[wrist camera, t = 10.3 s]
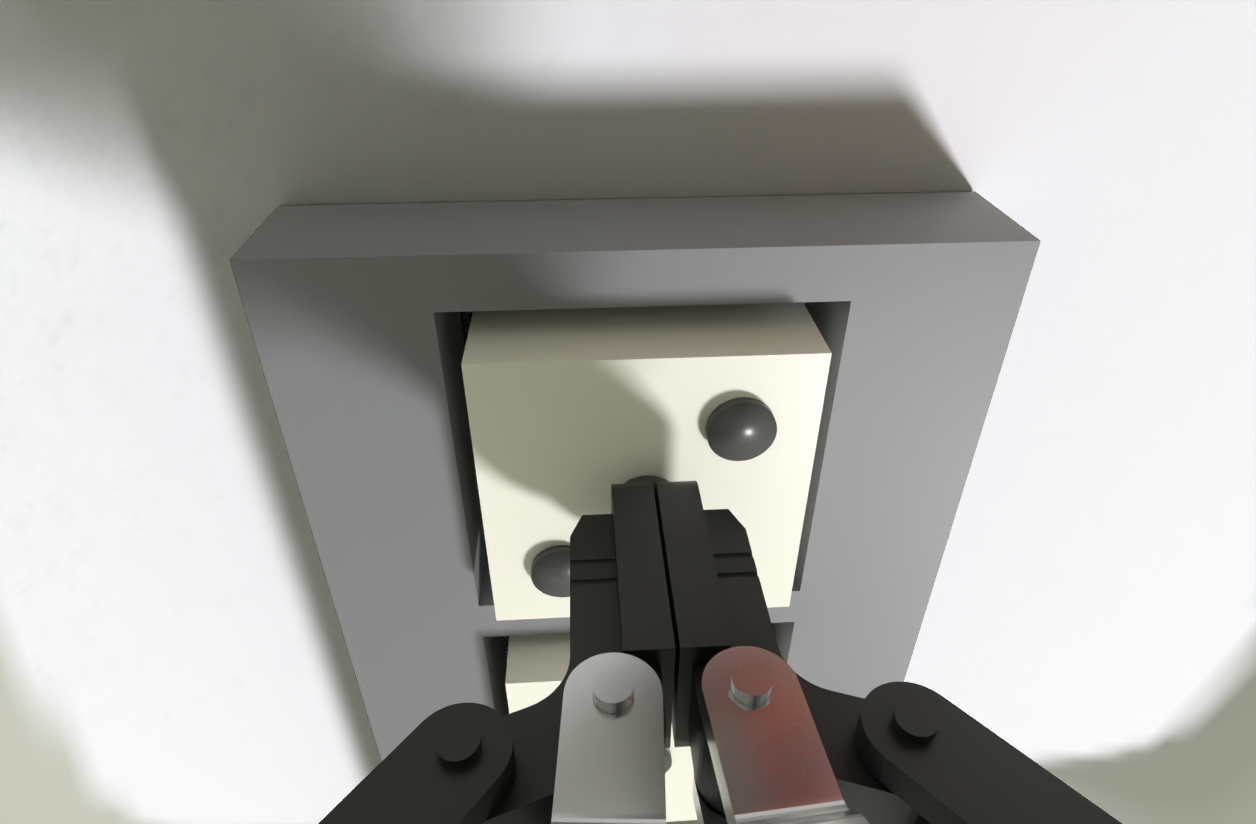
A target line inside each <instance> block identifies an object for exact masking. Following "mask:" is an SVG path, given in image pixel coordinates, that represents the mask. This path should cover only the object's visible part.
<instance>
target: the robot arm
mask: <svg viewBox="0 0 1256 824" xmlns="http://www.w3.org/2000/svg"><path fill="white" fill-rule="evenodd" d="M671 724H672V730H673V739H674V747H687V746H690V748H691V755H692V762H693V769H694V778H693V792H692V793H693V801H694V806H695V810H696V815H697V820H698V824H1122V823H1120V822H1119V821H1118V820H1116V819H1115V818H1113V817H1112V816H1110V815H1109V814H1108V813H1106V812H1105V811H1103V810H1102V809H1101V808H1099V807H1098V806H1096V805H1095V804H1093V803H1092V802H1091V801H1089V800H1088V799H1086V798H1085V797H1083V796H1082V795H1081V794H1079V793H1078V792H1076V791H1075V790H1074V789H1072V788H1071V787H1070V786H1068V785H1067V784H1065V783H1064V782H1062V781H1061V780H1060V779H1058V778H1057V777H1055V776H1054V775H1053V774H1051V773H1050V772H1048V771H1047V770H1045V769H1044V768H1043V767H1041V766H1040V765H1038V764H1037V763H1036V762H1034V761H1033V760H1031V759H1030V758H1029V757H1027V756H1026V755H1024V754H1023V753H1021V752H1020V751H1019V750H1017V749H1016V748H1014V747H1013V746H1012V745H1010V744H1009V743H1007V742H1006V741H1005V740H1003V739H1002V738H1000V737H999V736H997V735H996V734H995V733H993V732H992V731H990V730H989V729H988V728H986V727H985V726H983V725H982V724H980V723H979V722H978V721H976V720H975V719H973V718H972V717H971V716H969V715H968V714H966V713H965V712H964V711H962V710H961V709H959V708H958V707H956V706H955V705H954V704H952V703H951V702H949V701H948V700H947V699H945V698H944V697H942V696H941V695H939V694H938V693H936V692H934V691H933V690H931V689H928V688H926V687H924V686H921V685H918V684H914V683H909V682H889V683H886V684H882V685H880V686H878V687H876V688H875V689H873V690H872V691H871V692H870V693H869V694H868V695H867V696H866V698H865V699H864V698H860V697H856V696H852V695H847V694H843V693H839V692H835V691H831V690H827V689H824V688H821V687H819V686H816V685H814V684H812V683H810V682H808V681H807V680H805V679H803V678H802V677H801V676H799V675H798V674H797V673H795V672H794V671H793V669H792V668H791V667H790V666H789V665H788V664H787V663H786V662H785V660H784V659H783V657H782V655H781V653H780V651H779V648H778V646H777V642H776V638H775V635H774V631H773V627H772V624H771V620H770V616H769V613H768V609H767V605H766V601H765V598H764V594H763V590H762V587H761V583H760V579H759V576H758V575H757V568H756V565H755V561H754V557H752V550H751V546H750V543H749V539H748V535H747V532H746V529H745V528H744V526H743V525H742V524H741V523H740V522H739V521H738V520H737V518H736V517H735V516H734V515H733V514H732V513H731V511H730V510H729V509H713V510H703V505H702V501H701V496H700V491H699V487H698V483H697V481H676V482H655V486H654V489H653V484H652V483H629V484H611V514H595V515H582V516H581V518H580V520H579V522H578V523H577V525H576V527H575V529H574V530H573V532H572V534H571V536H570V662H569V667H568V670H567V673H566V675H565V677H564V679H563V680H562V682H561V683H560V685H559V686H558V687H557V688H556V689H555V690H554V691H553V692H552V693H551V694H550V695H549V696H547V697H546V698H545V699H543V700H541V701H540V702H538V703H536V704H534V705H531V706H529V707H527V708H524V709H521V710H518V711H516V712H513V713H510V714H507V715H505V716H502V715H501V714H500V713H498V712H497V711H496V710H494V709H492V708H491V707H489V706H486V705H483V704H479V703H458V704H453V705H450V706H446V707H444V708H442V709H440V710H438V711H436V712H434V713H433V714H431V715H430V716H428V717H427V718H426V719H425V720H424V721H423V722H422V723H421V724H419V725H418V726H417V727H416V728H415V729H414V730H413V731H412V732H411V733H410V734H409V735H408V736H407V737H406V738H405V739H404V740H403V741H402V742H401V743H400V744H399V745H398V746H397V747H396V748H395V749H394V750H393V751H392V752H391V753H390V754H389V755H388V756H387V757H386V758H385V759H384V760H383V761H382V762H381V763H380V764H379V765H378V766H377V767H376V768H375V769H374V770H373V771H372V772H371V773H370V774H369V775H368V776H367V777H366V778H365V779H363V780H362V781H361V782H360V783H359V784H358V785H357V786H356V787H355V788H354V789H353V790H352V791H351V792H350V793H349V794H348V795H347V796H346V797H345V798H344V799H343V800H342V801H341V802H340V803H339V804H338V805H337V806H336V807H335V808H334V809H333V810H332V811H331V812H330V813H329V814H328V815H327V816H326V817H325V818H324V819H323V820H322V821H321V822H320V823H319V824H666V794H665V748H670V743H671Z"/></svg>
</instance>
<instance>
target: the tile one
mask: <svg viewBox="0 0 1256 824" xmlns="http://www.w3.org/2000/svg"><path fill="white" fill-rule="evenodd" d="M569 662H570V633H557V634H537V635H516V636H509V644H508V656H507V669H506V681H505V685H506V693H507V700H508V707H509V714H510V713H513V712H516V711H518V710H521V709H524V708H527V707H529V706H531V705H534V704H536V703H538V702H540V701H541V700H543V699H545V698H546V697H547V696H549V695H550V694H551V693H552V692H553V691H554V690H555V689H556V688H557V687H558V686H559V685H560V683H561V682H562V680H563V679H564V677H565V675H566V673H567V670H568V667H569ZM693 778H694V769H693V762H692V755H691V748H690V746H687V747H674V739H673V730H672V724H671V743H670V748H665V794H666V822H672V821H688V820H697V815H696V810H695V806H694V801H693V793H692V792H693Z"/></svg>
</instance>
